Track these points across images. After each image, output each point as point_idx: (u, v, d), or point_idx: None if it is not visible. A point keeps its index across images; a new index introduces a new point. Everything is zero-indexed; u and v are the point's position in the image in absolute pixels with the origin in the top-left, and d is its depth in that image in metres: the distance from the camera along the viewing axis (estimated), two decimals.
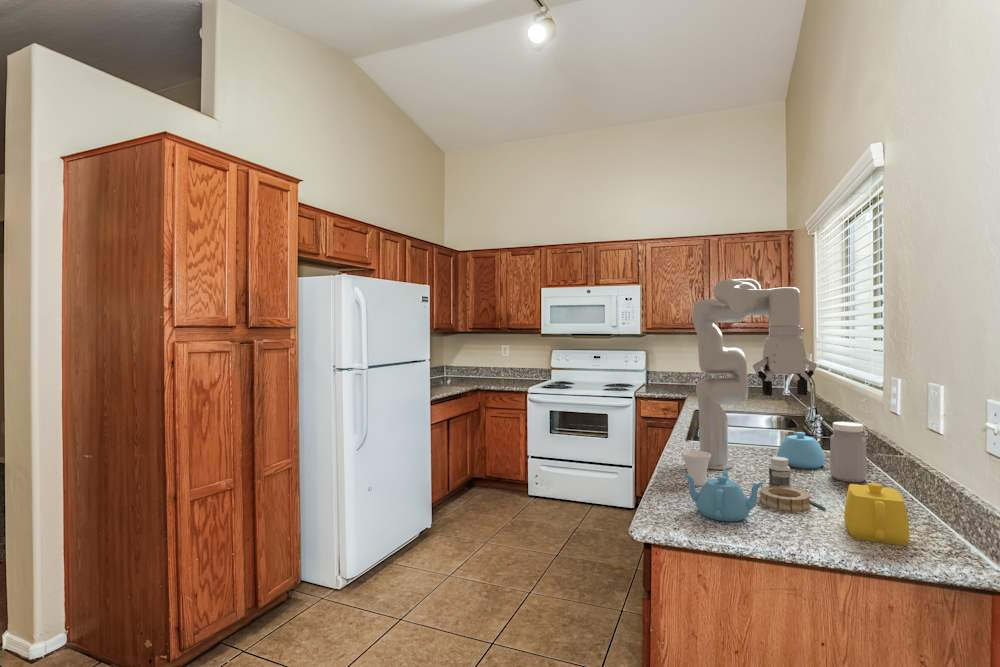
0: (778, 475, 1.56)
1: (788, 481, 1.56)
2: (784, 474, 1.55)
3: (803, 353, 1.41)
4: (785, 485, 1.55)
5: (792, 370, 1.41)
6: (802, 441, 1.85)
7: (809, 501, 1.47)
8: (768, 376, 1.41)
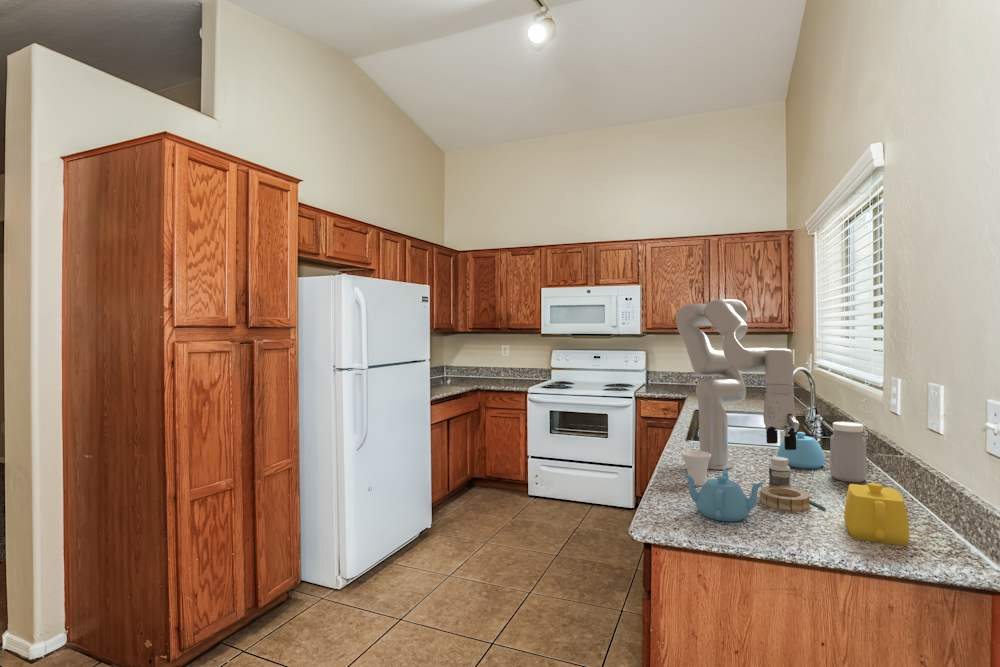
0: (778, 475, 1.56)
1: (788, 481, 1.56)
2: (784, 474, 1.55)
3: None
4: (785, 485, 1.55)
5: None
6: (802, 441, 1.85)
7: (809, 501, 1.47)
8: None
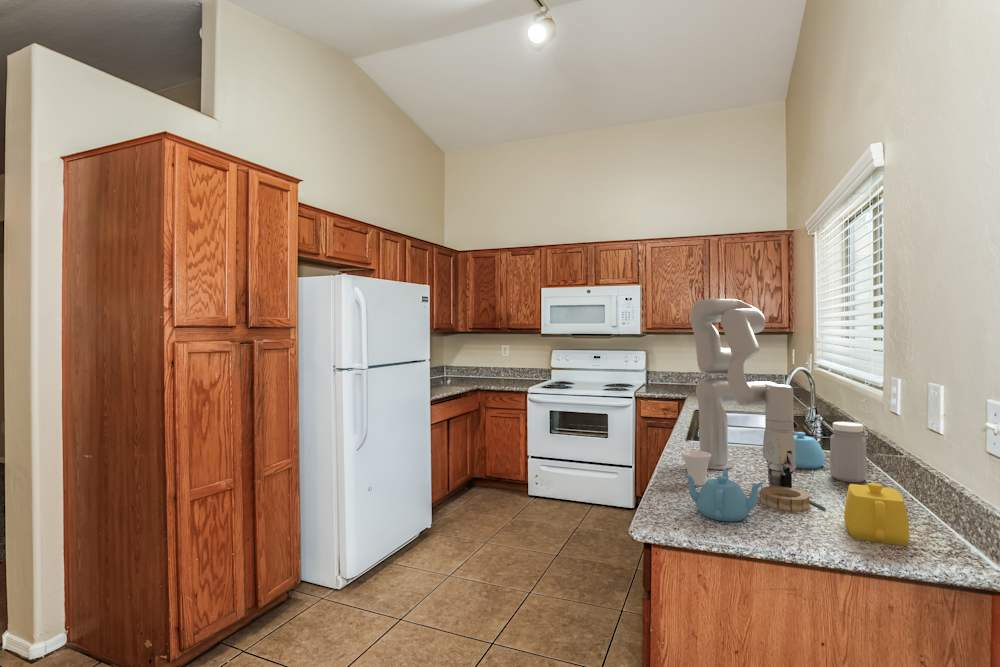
0: (778, 475, 1.56)
1: None
2: None
3: None
4: None
5: None
6: (802, 441, 1.85)
7: (809, 501, 1.47)
8: None
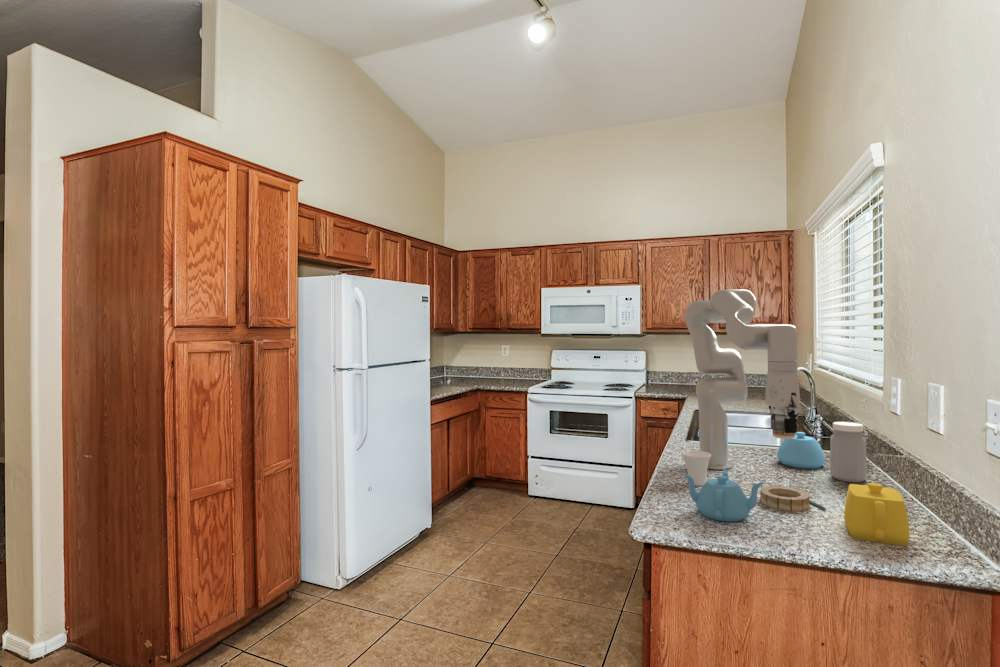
0: (783, 420, 1.47)
1: None
2: None
3: None
4: None
5: None
6: (802, 441, 1.85)
7: (809, 501, 1.47)
8: None
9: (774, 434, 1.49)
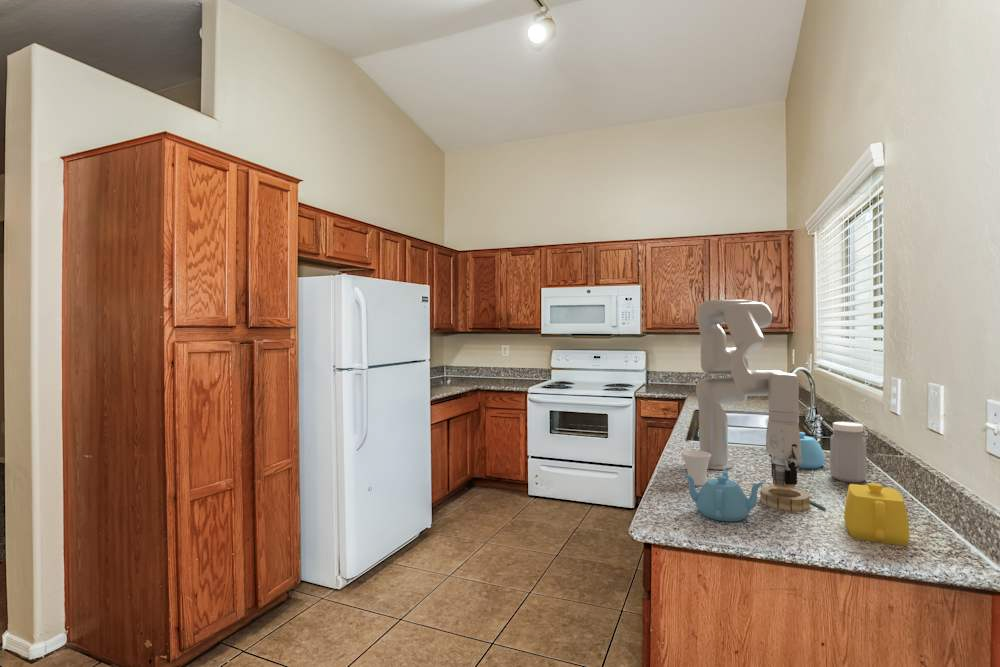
0: (783, 470, 1.45)
1: None
2: None
3: None
4: None
5: None
6: (802, 441, 1.85)
7: (809, 501, 1.47)
8: None
9: (774, 484, 1.47)
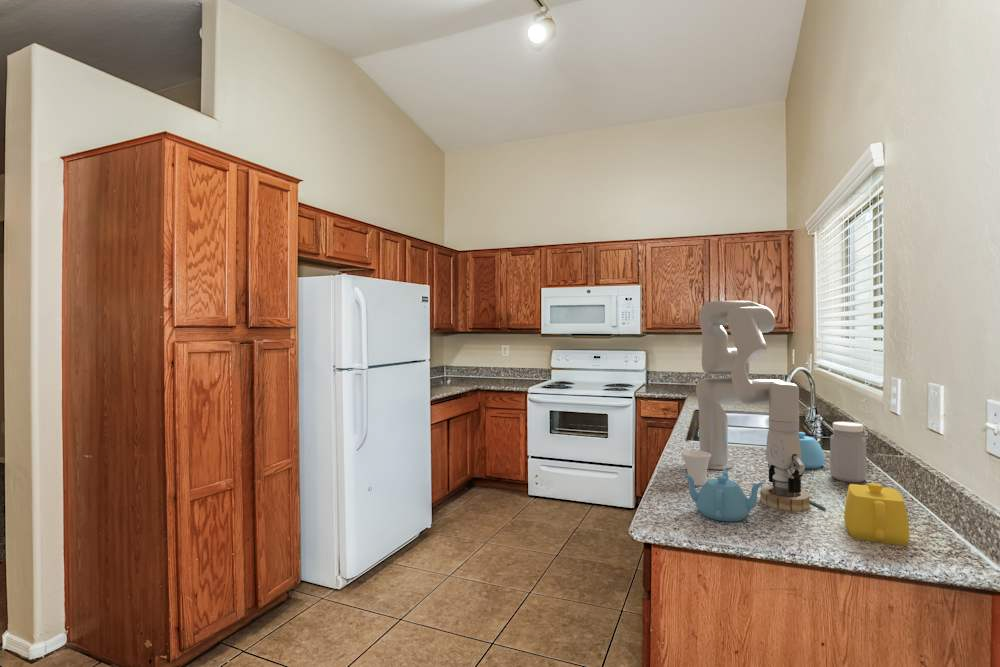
0: (783, 487, 1.45)
1: (793, 493, 1.45)
2: None
3: None
4: None
5: None
6: (802, 441, 1.85)
7: (809, 501, 1.47)
8: None
9: None
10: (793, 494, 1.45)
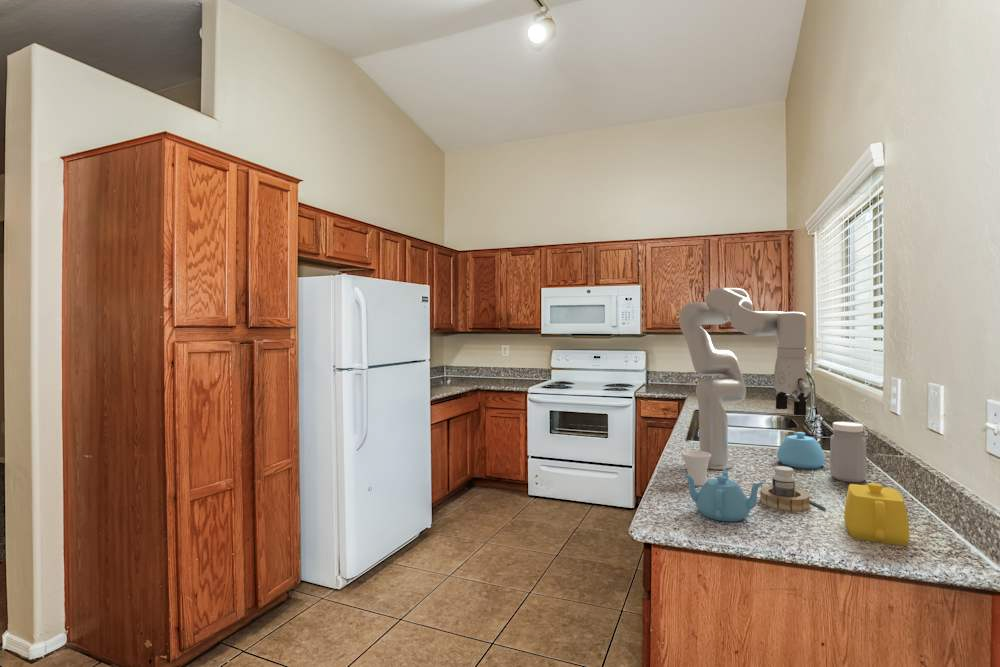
0: (783, 486, 1.45)
1: (793, 493, 1.45)
2: (789, 485, 1.44)
3: None
4: None
5: None
6: (802, 441, 1.85)
7: (809, 501, 1.47)
8: None
9: None
10: (793, 494, 1.45)
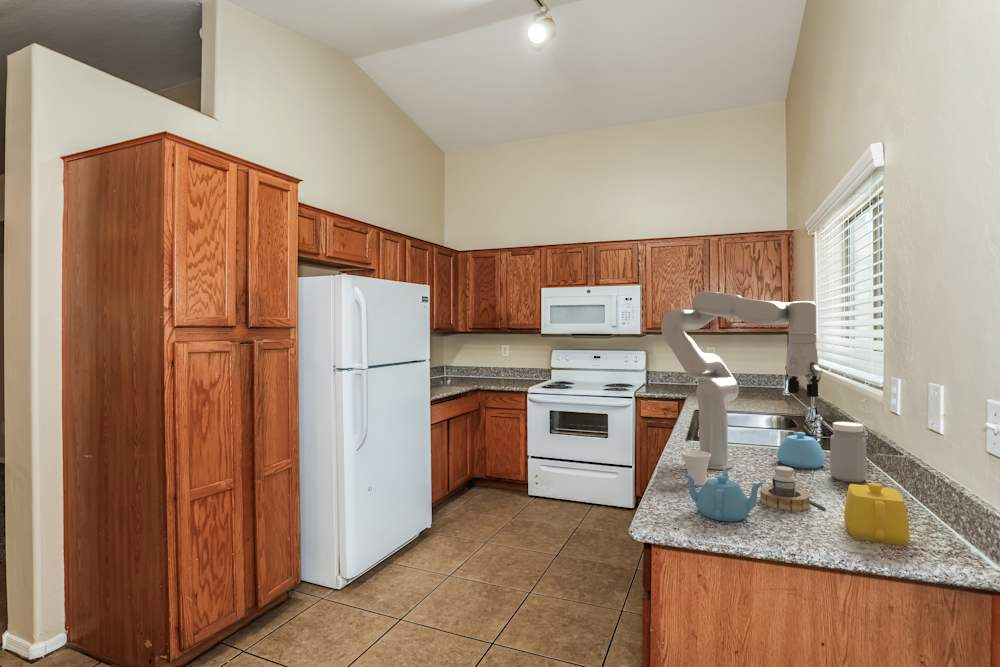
0: (783, 487, 1.45)
1: (793, 493, 1.45)
2: (789, 485, 1.44)
3: None
4: None
5: None
6: (802, 441, 1.85)
7: (809, 501, 1.47)
8: None
9: None
10: (793, 494, 1.45)
